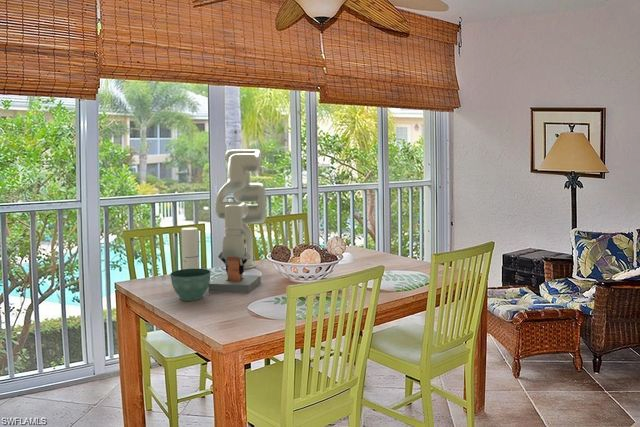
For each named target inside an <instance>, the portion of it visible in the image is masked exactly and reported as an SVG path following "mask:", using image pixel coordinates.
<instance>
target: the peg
mask: <svg viewBox="0 0 640 427" xmlns="http://www.w3.org/2000/svg"><path fill="white" fill-rule="evenodd" d="M239 266H240V262H239V257H227V269H228V281H238V282H240V281H241V280H242V275H243V273H242V274H239Z"/></svg>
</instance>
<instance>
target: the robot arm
mask: <svg viewBox="0 0 640 427" xmlns="http://www.w3.org/2000/svg"><path fill="white" fill-rule="evenodd" d="M224 158H225V162H226V164H227V179H226V181H227V182H225V183H224V184H223V185H222V186H221V188H220V189H219V191H218V192H217V194H216V196H215V197H216V198H215V215H216V217H217V218H218V219H221V220H223V219H224V230H225V231H224V235H223V240H222V248H221V249H222V251H221V252H220V253H219V254H218V256H217V258H218V259H219V260H220V261H221V262H223V263H224V265H225V272H226V274H228V269H227V257H239V262H240V266H239V274H242V275H243V274H244V272H245V269H247V270H248V269H253V268H255V267H256V266H257V263H255V262H254V261H253V260H254V259H253V258H254V256H253V255H254V252H253V251H254V250H253V231H252V229H251V227H250V226H249V225H248V224H264V222H266V220H267V199H266V198H267V197H266V196H267V195H266V188H265V185H264V184H263V183H261V182H251V178H250V177H251V174H250V173H251V172H252V173H255V172H258V171H260V168H261V165H262V160H263V159H262V158H263V156H262V152H261V151H260V150H259V149H256V148H253V149H251V148H249V149H247V148H246V149H243V148H239V149H238V148H236V149H235V148H234V149H229V150H226V152H225V157H224ZM231 194H232V196H233V199H234V201H224V199H225V198H226V197H227V196H229V195H231ZM248 203H252V204H248ZM253 203H255V204H253Z"/></svg>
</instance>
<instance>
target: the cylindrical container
mask: <svg viewBox="0 0 640 427" xmlns="http://www.w3.org/2000/svg"><path fill="white" fill-rule="evenodd" d="M180 232H181V257H182V258H181V259H182V260H181V261H182V269H200V267H199V266H200V262H199V231H198V227H195V226H192V227H191V226H190V227H182V228H181V229H180Z"/></svg>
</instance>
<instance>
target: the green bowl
mask: <svg viewBox="0 0 640 427" xmlns="http://www.w3.org/2000/svg"><path fill="white" fill-rule="evenodd" d="M211 272H212V271H211V270H210V269H207V268H199V269H183V268H182V269H178V270H174V271H172V272H170V279H171V280H170V281H171V284H172V287H173V290H174V292H175V293H176V294H177V295H178V297H179V300H181V301H184V302H185V301H187V302H189V301H191V302H192V301H198V300H201V299H203V298H204V295H205V293H206V292H207V290H208V286H209V283H210V282H211V274H212V273H211Z"/></svg>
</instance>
